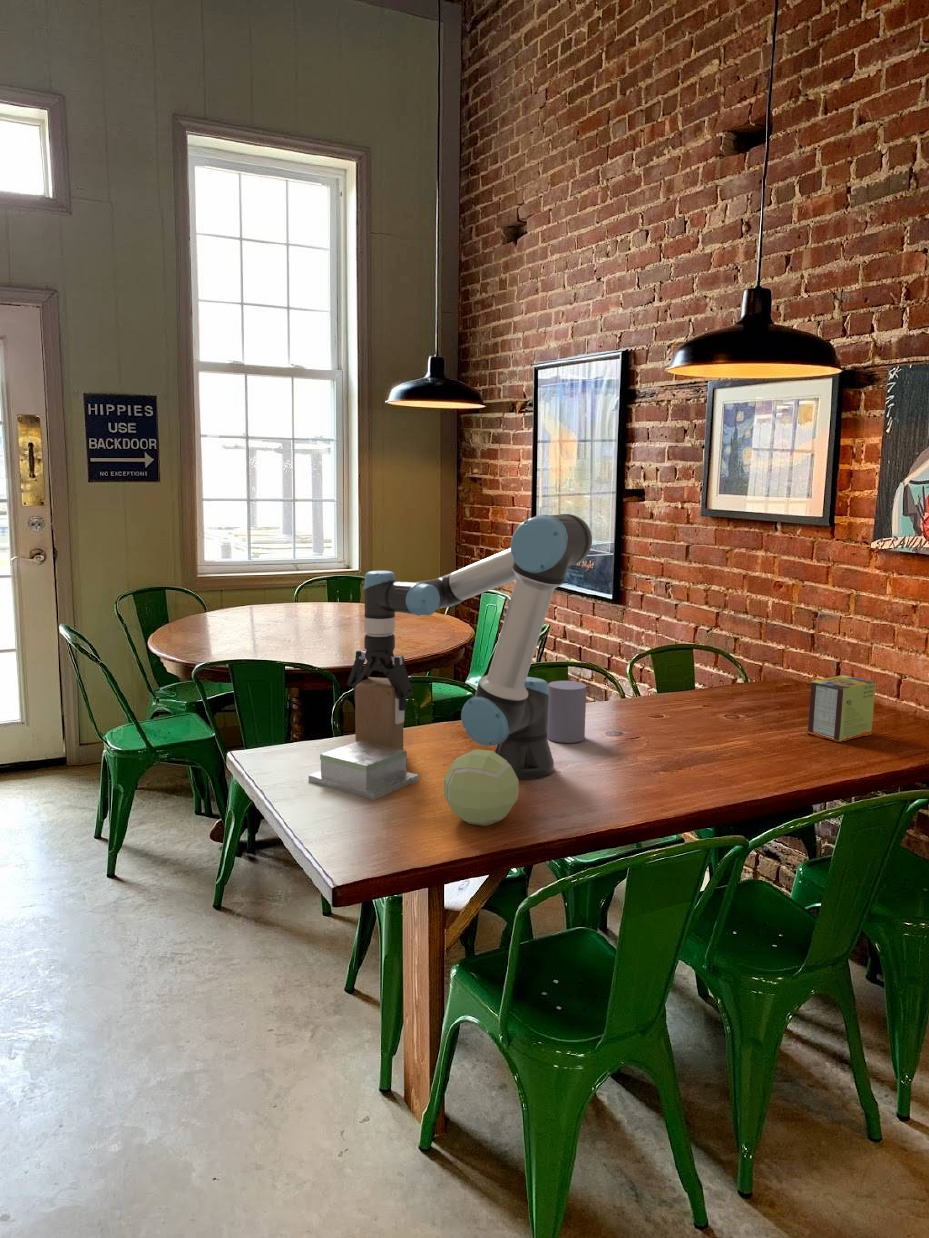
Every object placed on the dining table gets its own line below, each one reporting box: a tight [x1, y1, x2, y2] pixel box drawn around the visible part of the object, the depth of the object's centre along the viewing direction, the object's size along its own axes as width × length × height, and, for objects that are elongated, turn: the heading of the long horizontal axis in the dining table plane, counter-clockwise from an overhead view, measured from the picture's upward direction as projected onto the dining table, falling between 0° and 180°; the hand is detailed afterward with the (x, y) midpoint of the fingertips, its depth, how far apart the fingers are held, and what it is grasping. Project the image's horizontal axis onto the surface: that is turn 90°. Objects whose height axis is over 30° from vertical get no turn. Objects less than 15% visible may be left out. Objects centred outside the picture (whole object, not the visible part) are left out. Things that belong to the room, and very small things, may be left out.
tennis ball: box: [443, 748, 520, 827], centre depth 193 cm, size 15×15×15 cm
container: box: [547, 680, 587, 744], centre depth 254 cm, size 10×10×15 cm
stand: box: [308, 740, 419, 801], centre depth 218 cm, size 20×16×7 cm
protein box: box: [807, 674, 877, 741], centre depth 261 cm, size 10×15×16 cm
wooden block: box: [354, 676, 404, 750], centre depth 233 cm, size 10×10×20 cm
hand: (379, 718), depth 233 cm, fingers closed on wooden block, 12 cm apart
